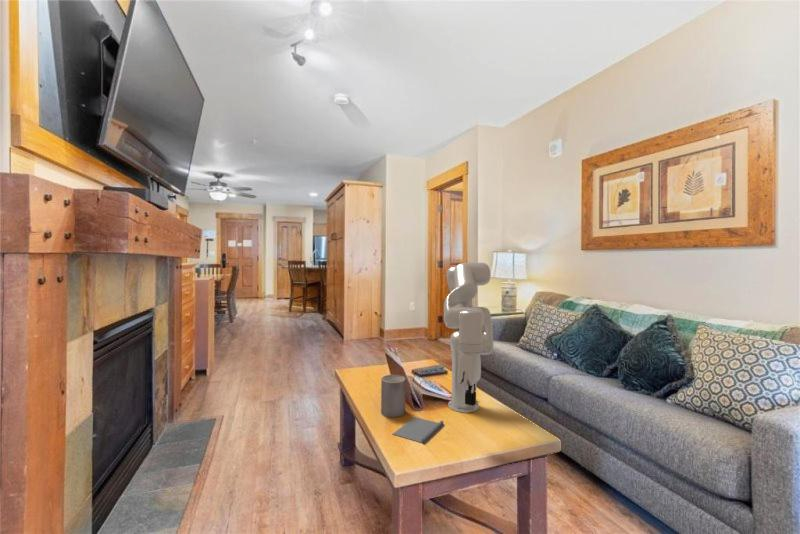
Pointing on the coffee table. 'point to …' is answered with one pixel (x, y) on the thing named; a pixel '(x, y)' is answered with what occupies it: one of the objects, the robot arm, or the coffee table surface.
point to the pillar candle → (393, 395)
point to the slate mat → (419, 430)
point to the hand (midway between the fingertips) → (470, 403)
